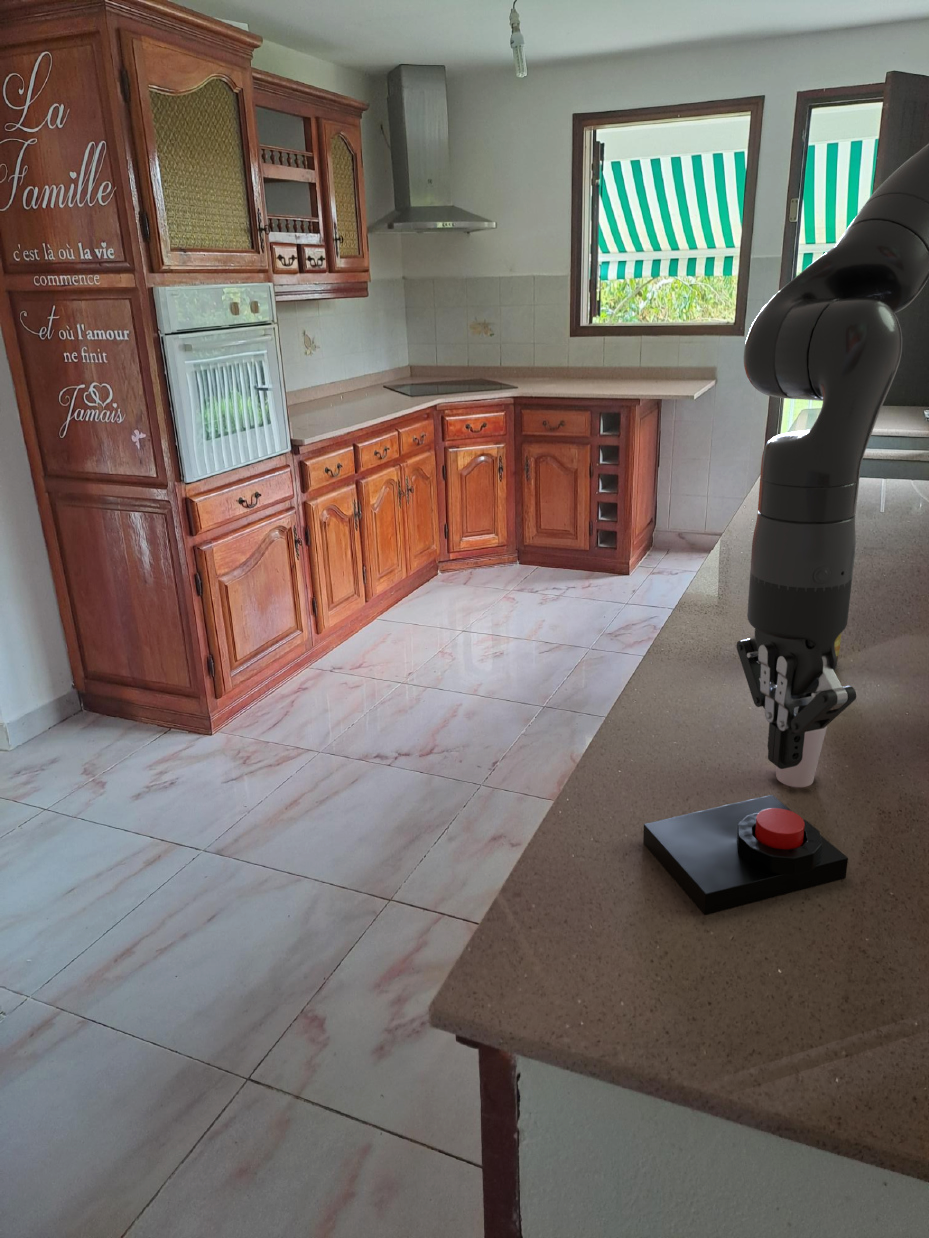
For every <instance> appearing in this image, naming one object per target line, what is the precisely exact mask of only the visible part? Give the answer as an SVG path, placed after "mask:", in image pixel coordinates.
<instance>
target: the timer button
mask: <svg viewBox="0 0 929 1238" xmlns="http://www.w3.org/2000/svg"><path fill="white" fill-rule="evenodd" d="M803 819H804V818H803V817H801V816H800V815H799V814H798V813H796V812H794V811H792V810H791V811H789V810H785V809H779V808H770V809H765V810H763V811H761V812H759V813H758V814H757V817H756V828H755V837H756V839H757V840H758V841H759V842H760V843H762V844H765V845H767V846H770V847H772V848H775V849H787V850H790V849H794V848H798V847H800V846H801V845H802V843H803V837H804V827H805V823H804V821H803Z"/></svg>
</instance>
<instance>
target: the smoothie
mask: <svg viewBox="0 0 929 1238" xmlns="http://www.w3.org/2000/svg"><path fill="white" fill-rule="evenodd" d="M798 708H799V707H798ZM827 728H828V725H827V726H826V727H825V728H823V729H818V730H813V731H808V732H805V736H804V746H803V752H802V753H803V757H802V760H801V762H800V763H799V764H798V765H797V766H794V767H789V768H785V769H780V768H778V767H777V766H776V765H775V776H776V780H777V781H778V782H779V783H781V784H782V785H785V786H788V787H791V788H806V787H810V786H811V785H812V784H813V783H814V780H815V777H816V773H817V768H818V765H819V760H820V756H821V752H822V748H823V746H824V745H823V744H824V741H825V737H826V733H827Z"/></svg>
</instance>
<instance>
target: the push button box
mask: <svg viewBox="0 0 929 1238" xmlns="http://www.w3.org/2000/svg"><path fill="white" fill-rule="evenodd" d="M770 808H779V809H785V810H789V811H792V809H790V808H789V807H787V806H786V804H784V803H783V802H782V801H781V800H779V798H777V797H776V796H775V795H773V794H769V795H764V796H761V797H755V798H752V799H747V800H743V801H739V802H734V803H729V804H725V805H721V806H717V807H712V808H708V809H704V810H699V811H695V812H694V811H693V812H691V813H686V814H682V815H677V816H673V817H669V818H664V819H660V820H656V821H652V822H647V823H644V824H643V835H642V836H643V838H642V839H643V842H642V843H643V845H644V847H646V849H647V850H648V851H649V852H650V853H651V854H652V856H653V857H654V858H655V859H656V860H657V862H659V864H660V865H661V866H662V867H663V869H664V870H665V871H666V872H667V874H669V876H670V877H671V878H672V879H673V880H674V881H675V883H676V884H677V885H678V886H679V887H680V889H682V891H683V892H684V893H685V894H686V895H687V897H688V898H689V899H690V900H691V901H692V903H693V904H694V905H695V906H696V907H697V909H699V911H700V912H701V913H702V914H703V915H704V916H709V915H711V914H716V913H719V912H723V911H727V910H730V909H735V908H739V907H743V906H746V905H750V904H754V903H756V902H761V901H765V900H768V899H772V898H776V897H781V896H784V895H788V894H792V893H796V892H800V891H803V890H807V889H810V888H814V887H818V886H822V885H826V884H830V883H834V882H837V881H841V880H844V879H846V878H847V870H848V864H849V863H848V862H849V857H848V856H846V855H845V854H844V853H843V852H842V851H841V850H840V849H839V848H837V847H836V846H834V844H832V843H831V842H830V841H829V840H828V839H826V838H825V837H824V836H823V835H821V831H820V830H819V829H817V828H816V827H815V826H814V825H813V824H811V823H810V822H809V821H808V820H806V819H804V818H802V819H803V821H804V823H805V827H804V837H803V843H802V845H801V846H800V847H798V848H794V849H790V850H787V849H775V848H772V847H770V846H767V845H765V844H762V843H760V842H759V841H758V840H757V839H756V837H755V828H756V817H757V814H758V813H759V812H761V811H763V810H765V809H770Z"/></svg>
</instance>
